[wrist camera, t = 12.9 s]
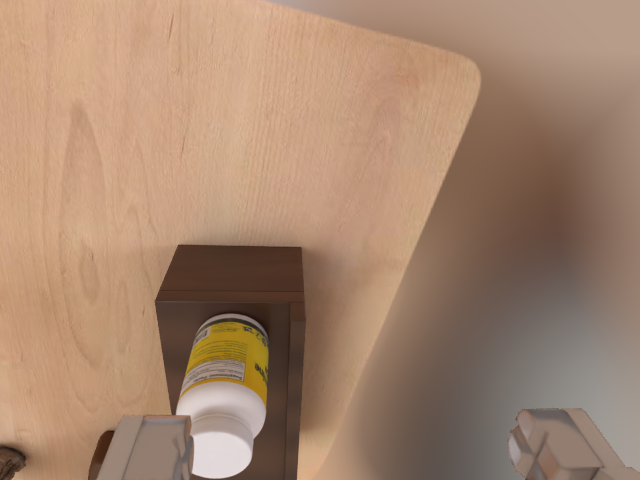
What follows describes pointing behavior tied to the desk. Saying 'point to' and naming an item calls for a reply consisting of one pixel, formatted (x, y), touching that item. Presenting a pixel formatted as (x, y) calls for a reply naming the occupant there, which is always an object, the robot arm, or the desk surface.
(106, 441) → the chocolate bar pack
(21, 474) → the desk surface
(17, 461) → the figurine
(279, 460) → the shelf
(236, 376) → the pill bottle
